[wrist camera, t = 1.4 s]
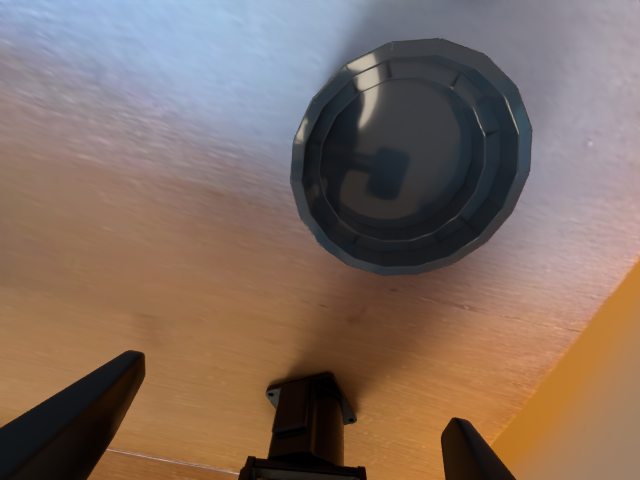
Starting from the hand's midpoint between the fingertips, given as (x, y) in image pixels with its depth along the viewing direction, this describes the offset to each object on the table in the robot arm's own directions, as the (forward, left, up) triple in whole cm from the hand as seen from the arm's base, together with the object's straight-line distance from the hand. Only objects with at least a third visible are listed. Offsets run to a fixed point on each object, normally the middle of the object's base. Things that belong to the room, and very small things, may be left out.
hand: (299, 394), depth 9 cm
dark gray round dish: (+2, -5, -13) cm, 14 cm away
